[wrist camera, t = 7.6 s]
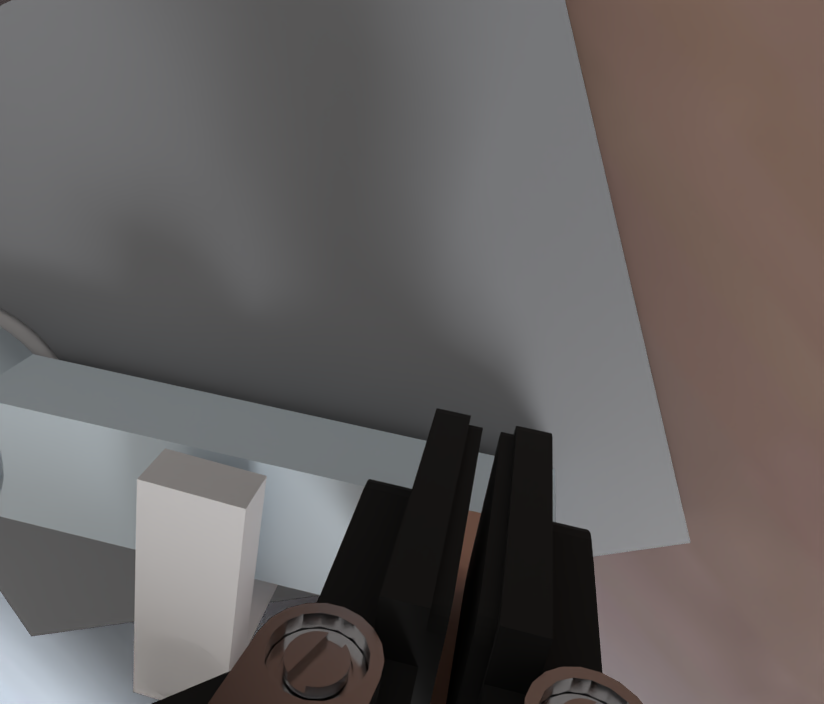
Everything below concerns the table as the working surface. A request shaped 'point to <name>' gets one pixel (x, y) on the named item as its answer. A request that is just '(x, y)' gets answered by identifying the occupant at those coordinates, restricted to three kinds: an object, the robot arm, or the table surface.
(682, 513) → the pintle board
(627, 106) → the table surface
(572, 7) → the table surface
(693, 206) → the table surface
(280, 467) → the white lever handle
